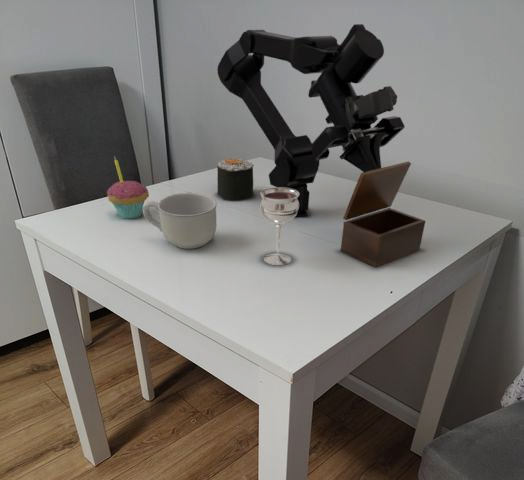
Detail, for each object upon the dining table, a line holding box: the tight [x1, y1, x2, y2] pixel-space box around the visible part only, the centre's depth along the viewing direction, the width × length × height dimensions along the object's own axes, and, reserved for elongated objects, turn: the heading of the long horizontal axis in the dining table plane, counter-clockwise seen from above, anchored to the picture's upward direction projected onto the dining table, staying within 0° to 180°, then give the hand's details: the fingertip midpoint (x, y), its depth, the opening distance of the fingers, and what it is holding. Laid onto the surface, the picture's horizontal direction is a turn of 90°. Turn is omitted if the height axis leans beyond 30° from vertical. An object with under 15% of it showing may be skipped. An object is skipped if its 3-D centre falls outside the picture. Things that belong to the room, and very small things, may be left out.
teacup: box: [142, 192, 217, 250], centre depth 92 cm, size 14×11×8 cm
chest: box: [340, 207, 426, 268], centre depth 91 cm, size 9×13×6 cm
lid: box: [342, 161, 412, 221], centre depth 88 cm, size 9×13×1 cm
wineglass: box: [259, 186, 300, 266], centre depth 85 cm, size 7×7×12 cm
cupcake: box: [106, 155, 150, 219], centre depth 103 cm, size 9×8×12 cm
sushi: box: [217, 157, 255, 202], centre depth 116 cm, size 8×8×8 cm
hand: (379, 179), depth 87 cm, fingers closed
